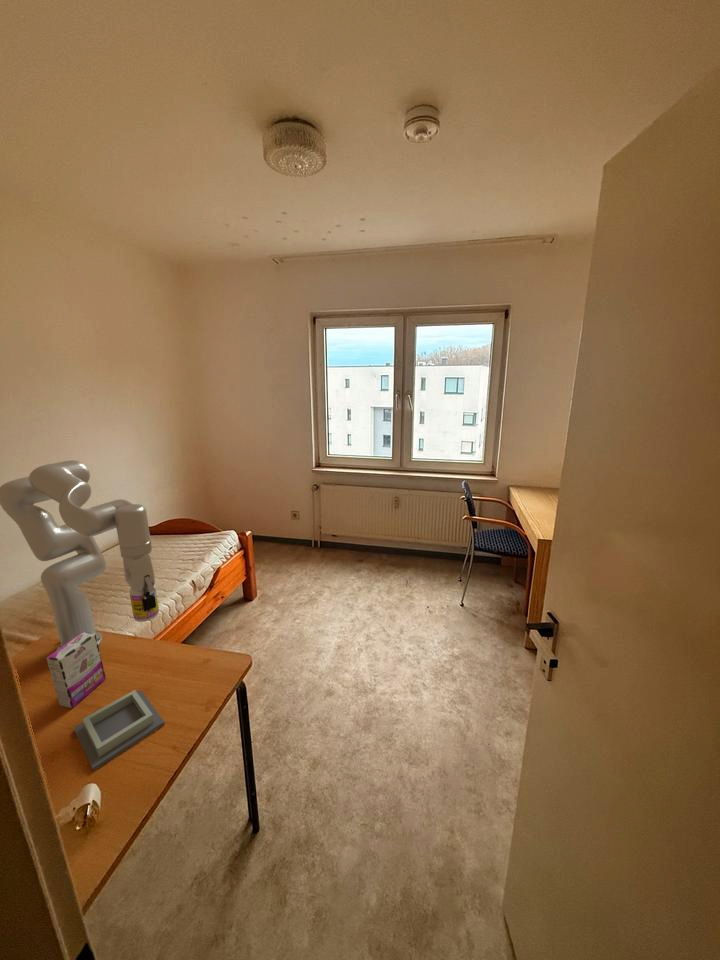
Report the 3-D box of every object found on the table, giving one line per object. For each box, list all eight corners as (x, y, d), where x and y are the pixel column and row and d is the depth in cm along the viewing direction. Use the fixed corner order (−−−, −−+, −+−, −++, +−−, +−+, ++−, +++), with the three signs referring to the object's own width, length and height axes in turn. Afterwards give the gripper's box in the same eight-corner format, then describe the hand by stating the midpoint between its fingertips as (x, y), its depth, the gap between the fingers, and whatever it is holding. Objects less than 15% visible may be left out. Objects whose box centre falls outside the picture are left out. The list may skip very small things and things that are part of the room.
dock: (74, 730, 96) (71, 719, 95) (141, 692, 108) (139, 682, 107) (93, 771, 86) (90, 759, 85) (164, 724, 98) (162, 713, 97)
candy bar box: (92, 676, 114) (82, 630, 109) (106, 678, 113) (97, 632, 108) (57, 706, 103) (44, 657, 99) (72, 709, 102) (60, 660, 98)
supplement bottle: (130, 624, 105) (123, 584, 102) (137, 611, 112) (131, 573, 108) (156, 621, 107) (150, 581, 104) (161, 607, 113) (156, 570, 110)
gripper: (110, 543, 106) (120, 598, 111) (133, 562, 95) (142, 622, 100) (138, 535, 112) (146, 588, 117) (163, 553, 101) (171, 609, 106)
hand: (144, 603), depth 108 cm, fingers closed on supplement bottle, 6 cm apart
